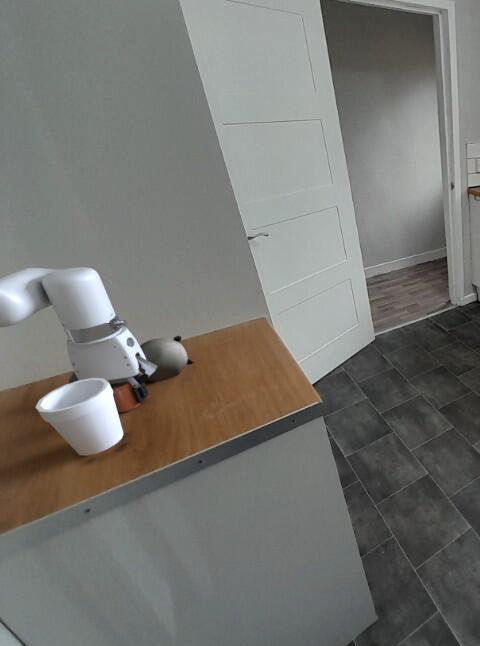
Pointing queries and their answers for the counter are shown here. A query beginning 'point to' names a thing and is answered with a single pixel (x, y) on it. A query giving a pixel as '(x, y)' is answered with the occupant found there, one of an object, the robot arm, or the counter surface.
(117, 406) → the pot
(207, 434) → the counter surface
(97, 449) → the foam cup
